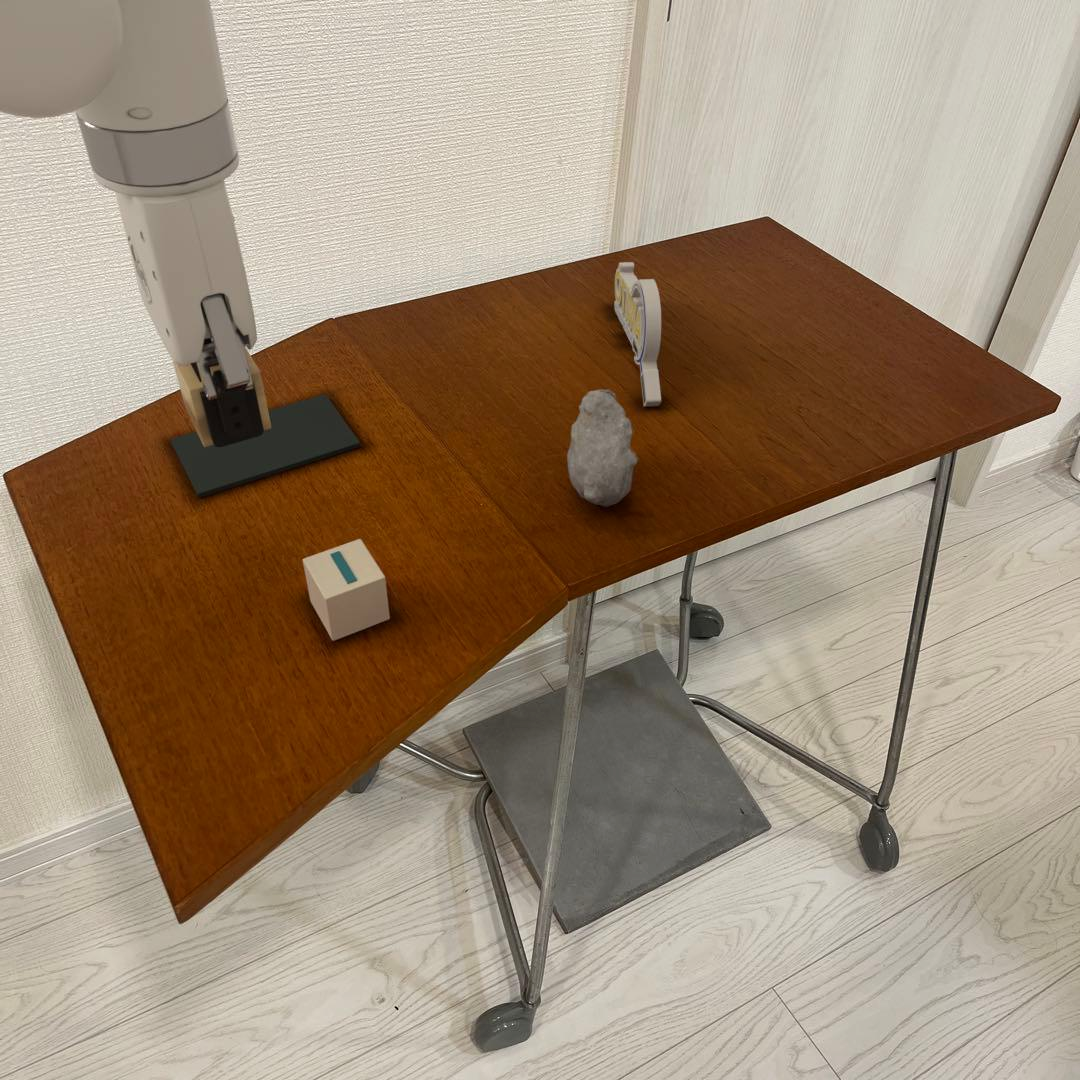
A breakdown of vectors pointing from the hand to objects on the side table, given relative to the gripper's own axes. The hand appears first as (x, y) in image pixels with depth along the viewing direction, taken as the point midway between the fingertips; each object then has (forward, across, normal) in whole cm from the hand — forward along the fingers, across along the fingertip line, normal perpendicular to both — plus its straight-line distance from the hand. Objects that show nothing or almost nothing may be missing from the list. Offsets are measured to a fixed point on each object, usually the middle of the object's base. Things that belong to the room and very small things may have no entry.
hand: (226, 414), depth 66 cm
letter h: (0, 0, 0) cm, 0 cm away
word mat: (+15, -14, +5) cm, 21 cm away
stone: (+15, +4, +27) cm, 31 cm away
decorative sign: (+15, -12, +41) cm, 45 cm away
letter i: (+15, +7, +4) cm, 17 cm away
